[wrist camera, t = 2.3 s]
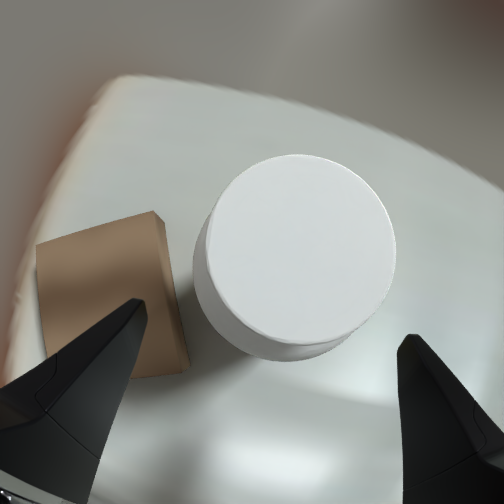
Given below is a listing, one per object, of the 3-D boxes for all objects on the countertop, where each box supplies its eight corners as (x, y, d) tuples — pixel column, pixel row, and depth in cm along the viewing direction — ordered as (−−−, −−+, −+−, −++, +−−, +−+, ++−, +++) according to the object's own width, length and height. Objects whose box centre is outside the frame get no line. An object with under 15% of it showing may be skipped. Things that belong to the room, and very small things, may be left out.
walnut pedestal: (190, 365, 18) (181, 372, 16) (71, 377, 18) (53, 382, 15) (164, 222, 20) (153, 210, 18) (54, 252, 20) (35, 245, 17)
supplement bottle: (201, 307, 19) (111, 297, 6) (249, 221, 20) (245, 88, 8) (292, 355, 18) (360, 427, 6) (337, 266, 19) (451, 196, 7)
